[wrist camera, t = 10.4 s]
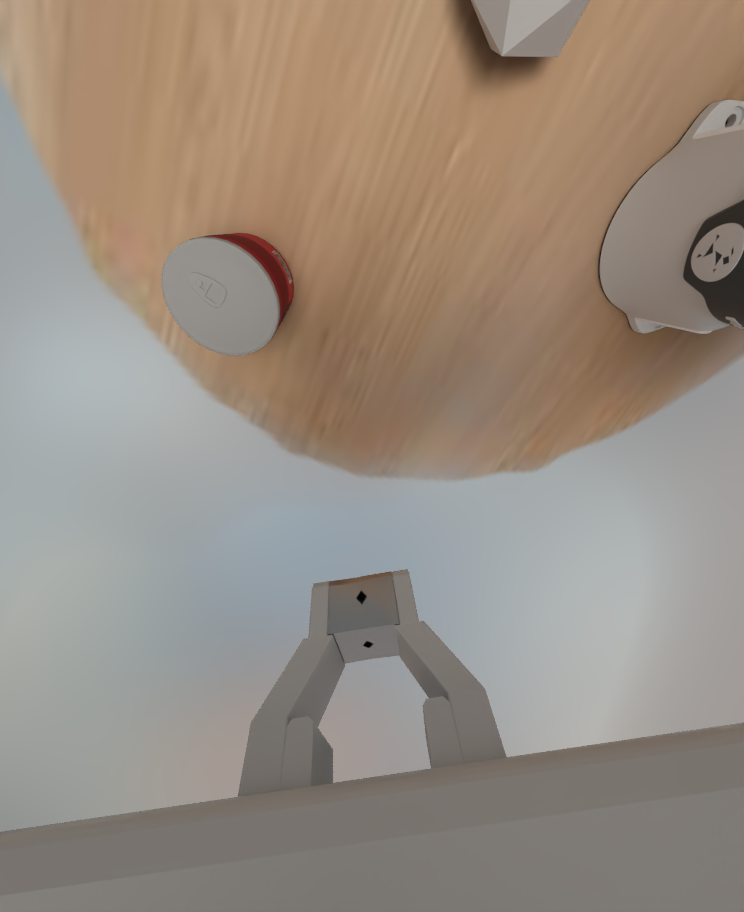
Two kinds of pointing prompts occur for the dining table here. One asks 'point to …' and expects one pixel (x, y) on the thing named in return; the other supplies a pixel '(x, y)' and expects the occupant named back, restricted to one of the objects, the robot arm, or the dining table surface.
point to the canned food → (227, 291)
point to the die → (528, 25)
